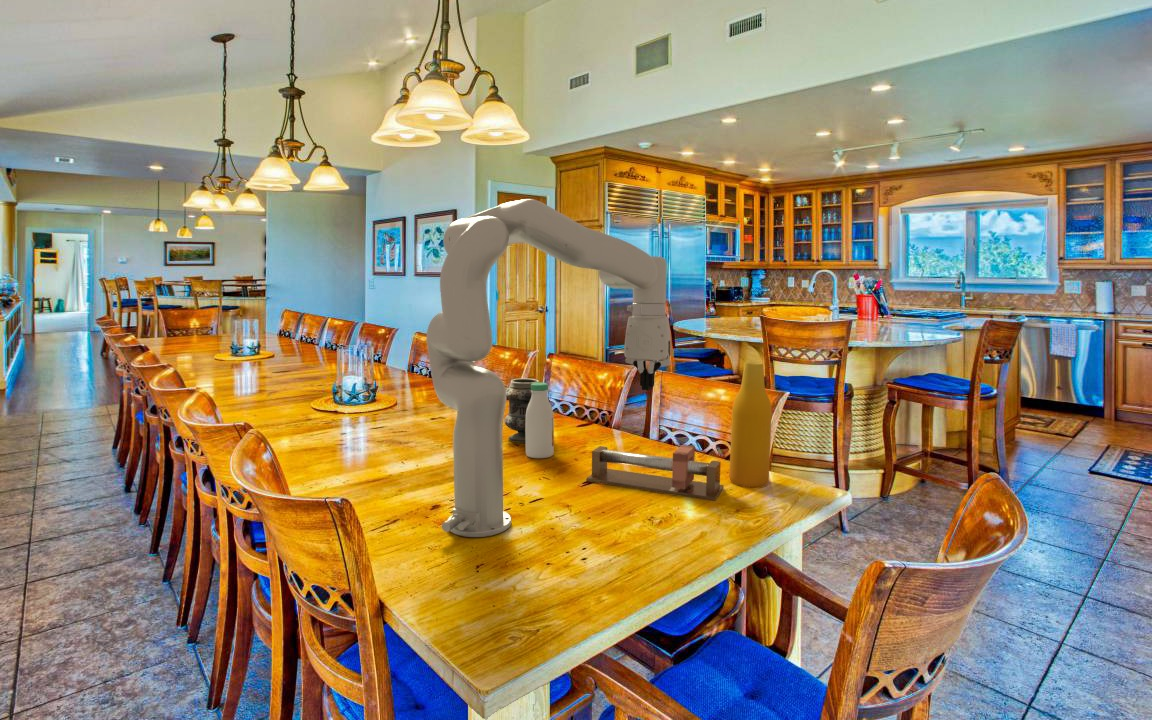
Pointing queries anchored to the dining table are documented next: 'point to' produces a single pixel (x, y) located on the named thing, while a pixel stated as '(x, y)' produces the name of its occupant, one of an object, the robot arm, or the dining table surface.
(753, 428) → the beer bottle
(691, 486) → the pipe rig
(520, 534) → the dining table surface
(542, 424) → the milk bottle
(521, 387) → the apothecary jar
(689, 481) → the collar
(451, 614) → the dining table surface
